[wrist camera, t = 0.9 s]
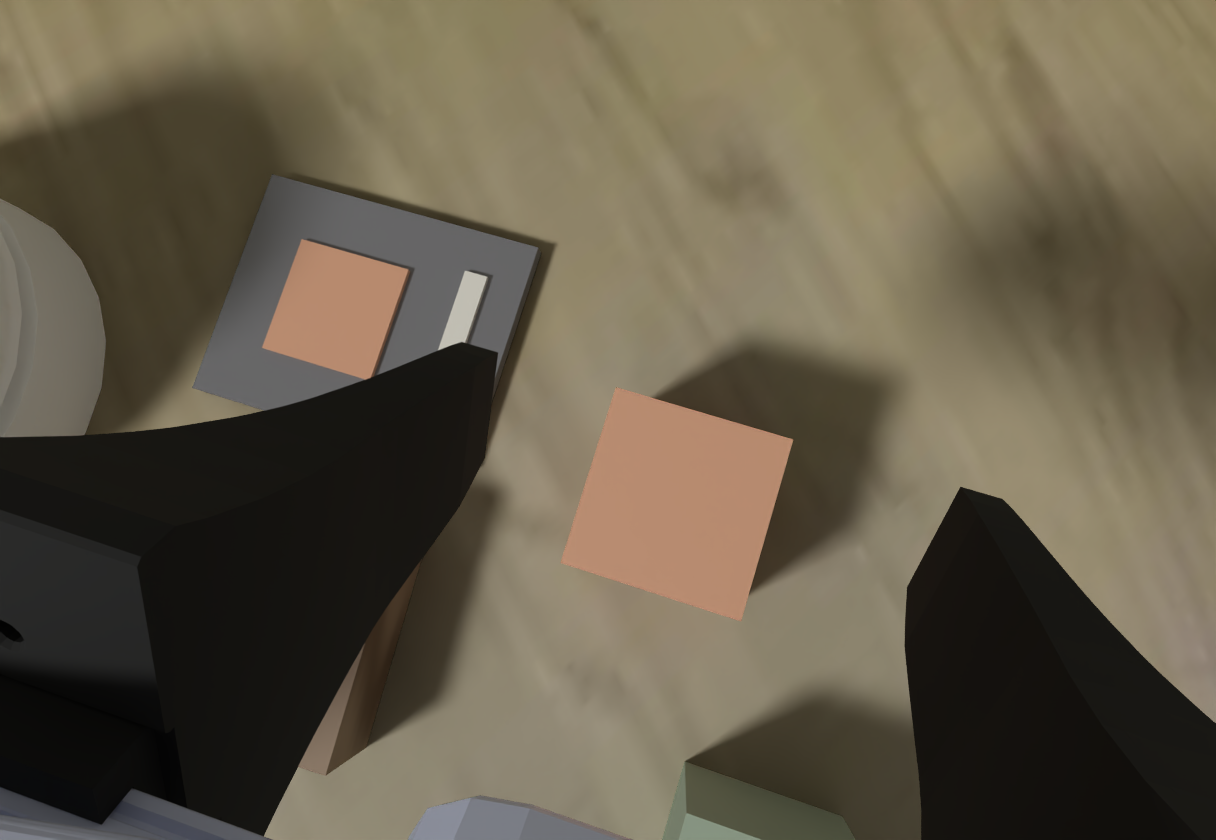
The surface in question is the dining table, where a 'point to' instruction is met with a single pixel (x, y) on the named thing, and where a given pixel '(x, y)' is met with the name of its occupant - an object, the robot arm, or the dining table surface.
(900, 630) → the dining table surface
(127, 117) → the dining table surface
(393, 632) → the walnut base
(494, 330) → the card
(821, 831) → the sage block
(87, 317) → the honey pot
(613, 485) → the terracotta block
